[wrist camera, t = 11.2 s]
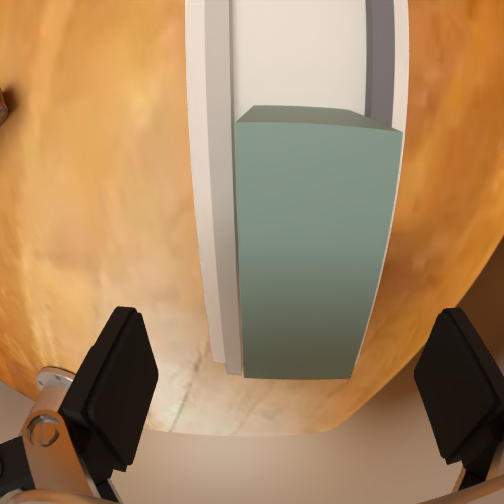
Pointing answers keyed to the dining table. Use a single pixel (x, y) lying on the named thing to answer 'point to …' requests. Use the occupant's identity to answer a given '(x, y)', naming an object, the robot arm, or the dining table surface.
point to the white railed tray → (276, 93)
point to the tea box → (310, 235)
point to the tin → (2, 108)
